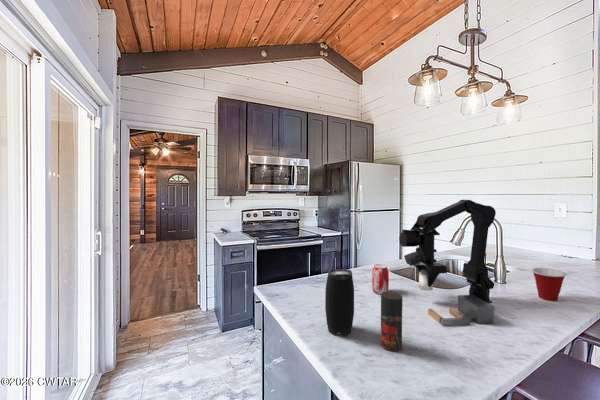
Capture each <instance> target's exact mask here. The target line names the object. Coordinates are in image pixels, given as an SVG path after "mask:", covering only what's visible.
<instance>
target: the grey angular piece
mask: <svg viewBox="0 0 600 400" xmlns="http://www.w3.org/2000/svg"><path fill="white" fill-rule="evenodd" d="M448 313H449V314H450V315H451V316H452V317H449V318H448V317H447V318H443V317H444V316H441V314H439V313H438V312H436V311H435V310H434V309H433V308H428V309H427V314H428V316H430V317H431V318H432V319H433V320H435V322H437V323H438V324H440V325H441V326H442V327H449V326H450V327H452V326H455V327H456V326H469V325H470V323H474V324H477V325H485V324H486V325H488V324H494V323H495V305H493V304H491V303H487V302H485V301H484V300H482V299H480V298H478V297H476V296H474V295H469V294H465V295H464V294H463V295H457V310H456V309H454V307H449V308H448Z"/></svg>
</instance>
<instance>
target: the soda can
mask: <svg viewBox="0 0 600 400" xmlns="http://www.w3.org/2000/svg"><path fill="white" fill-rule="evenodd" d="M389 273H390V272H389V268H388V265H385V264H379V263H378V264H376V263H375V264H374V265H373V267H372V273H371V274H372V275H371V277H372V280H371V282H372V283H371V287H372V292H374V293H375V294H378V295H381V293H383V292H389V283H390V281H389V280H390V277H389V275H390V274H389Z"/></svg>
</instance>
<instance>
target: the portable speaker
mask: <svg viewBox="0 0 600 400" xmlns="http://www.w3.org/2000/svg"><path fill="white" fill-rule="evenodd" d="M325 283H326V284H325V296H324V297H325V301H324V304H325V305H324V309H325V316H326V317H325V318H326V326H327V331H328V333H329V334H331V335H336V334H342V335H344V336H349V335H350V334H352V330H353V329H352V328H353V325H354V324H353V323H354V316H355V287H354V286H355V285H354V279H353V272H352V269H349V268H337V269H336V268H329V269H328V270H327V277H326V282H325Z"/></svg>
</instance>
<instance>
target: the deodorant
mask: <svg viewBox="0 0 600 400" xmlns="http://www.w3.org/2000/svg"><path fill="white" fill-rule="evenodd" d="M380 346H381V348H382V349H384V350H386V351H388V352H391V353H392V352H393V353H396V352H400V351H401V350H402V349H403V295H402V294H401V293H398V292H394V291H388V292H383V293H381V294H380Z"/></svg>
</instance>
